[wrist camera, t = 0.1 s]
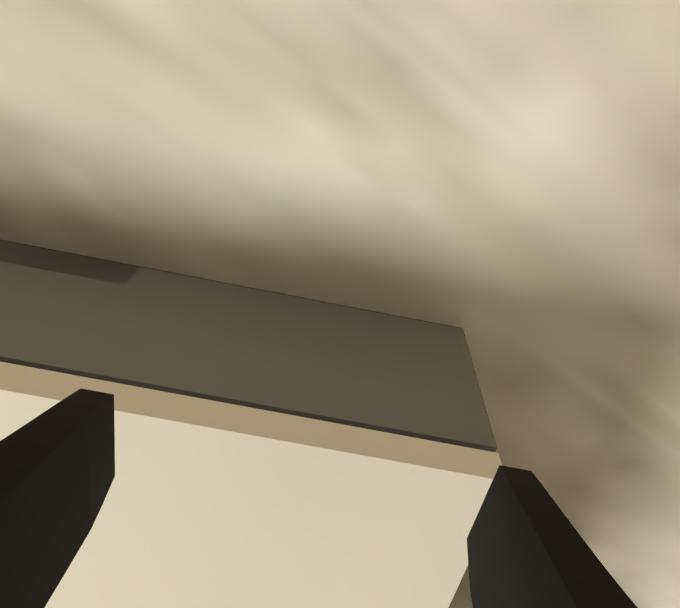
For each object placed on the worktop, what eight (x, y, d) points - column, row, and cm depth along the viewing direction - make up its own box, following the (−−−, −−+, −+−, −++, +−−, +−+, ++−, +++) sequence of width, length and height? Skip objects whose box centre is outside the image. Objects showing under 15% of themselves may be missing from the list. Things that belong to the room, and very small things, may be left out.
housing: (363, 617, 28) (361, 762, 23) (-138, 531, 27) (-268, 662, 22) (462, 328, 20) (497, 447, 14) (-254, 191, 19) (-514, 261, 13)
